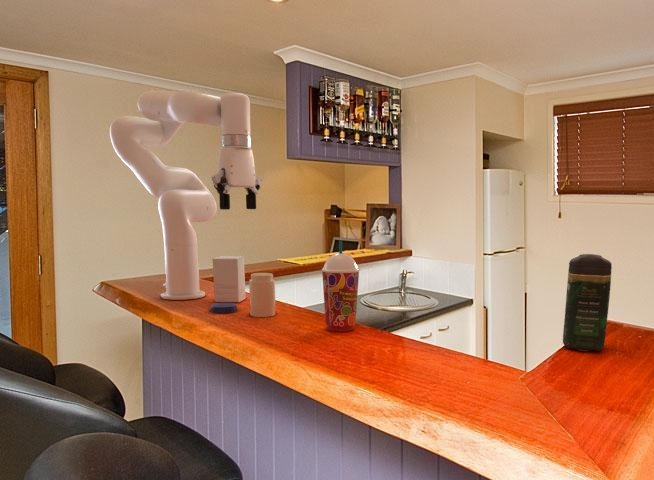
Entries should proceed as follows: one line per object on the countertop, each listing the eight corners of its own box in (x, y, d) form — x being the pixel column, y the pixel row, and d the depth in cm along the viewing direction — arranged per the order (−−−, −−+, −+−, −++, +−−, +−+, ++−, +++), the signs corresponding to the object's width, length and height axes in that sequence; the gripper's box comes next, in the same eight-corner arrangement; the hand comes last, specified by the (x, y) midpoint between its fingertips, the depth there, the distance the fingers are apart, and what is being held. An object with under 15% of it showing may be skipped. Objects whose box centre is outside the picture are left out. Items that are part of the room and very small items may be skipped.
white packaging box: (246, 298, 166) (245, 255, 164) (238, 302, 158) (237, 258, 156) (222, 297, 166) (220, 255, 164) (213, 302, 159) (211, 258, 157)
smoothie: (346, 335, 121) (346, 242, 117) (314, 330, 125) (314, 240, 122) (365, 327, 128) (366, 240, 124) (335, 323, 132) (335, 238, 129)
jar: (244, 314, 142) (243, 274, 140) (264, 311, 147) (263, 271, 145) (261, 318, 138) (260, 276, 136) (280, 314, 143) (280, 274, 141)
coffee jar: (606, 354, 106) (614, 257, 103) (561, 350, 109) (568, 255, 106) (603, 343, 115) (611, 253, 112) (562, 339, 118) (569, 251, 115)
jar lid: (206, 310, 147) (206, 304, 147) (229, 307, 151) (229, 301, 151) (217, 314, 142) (217, 308, 142) (241, 311, 146) (241, 305, 146)
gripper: (249, 146, 156) (251, 208, 159) (201, 141, 142) (203, 209, 145) (269, 145, 152) (270, 209, 155) (221, 139, 138) (224, 209, 141)
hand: (238, 209), depth 150 cm, fingers open, 9 cm apart
